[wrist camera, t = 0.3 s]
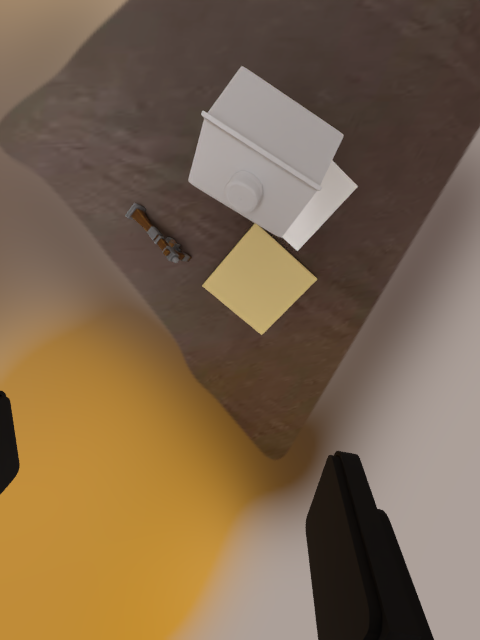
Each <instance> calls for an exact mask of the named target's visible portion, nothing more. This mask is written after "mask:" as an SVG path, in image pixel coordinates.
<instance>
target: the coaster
mask: <svg viewBox="0 0 480 640" xmlns="http://www.w3.org/2000/svg"><path fill="white" fill-rule="evenodd" d="M316 280H317V278H316V277H315V276H314V275H313V274H312V273H311V272H310V271H309V270H308V269H306V268H305V267H304V266H303V265H302V264H301V263H300V262H299V261H298V260H297V259H295V258H294V257H293V256H292V255H291V254H290V253H289V252H288V251H287V250H286V249H285V248H283V247H282V246H281V245H280V244H279V243H278V242H277V241H276V240H275V239H274V238H272V237H271V236H270V235H269V234H268V233H267V232H266V231H265V230H264V229H263V228H262V227H260V226H259V225H257V224H256V223H254V224H253V226H252V227H251V228H250V229H249V230H248V232H247V233H246V234H245V235H244V236H243V237H242V239H241V240H240V241H239V242H238V243H237V245H236V246H235V247H234V248H233V249H232V250H231V252H230V253H229V254H228V255H227V256H226V258H225V259H224V260H223V261H222V262H221V263H220V265H219V266H218V267H217V268H216V269H215V271H214V272H213V273H212V274H211V275H210V276H209V278H208V279H207V280H206V281H205V282H204V284H203V285H202V286H203V287H204V288H205V289H206V290H208V291H209V292H210V293H211V294H212V295H214V296H215V297H216V298H217V299H219V300H220V301H221V302H222V303H223V304H225V305H226V306H227V307H228V308H229V309H231V310H232V311H233V312H234V313H235V314H237V315H238V316H239V317H240V318H242V319H243V320H244V321H245V322H246V323H248V324H249V325H250V326H251V327H252V328H254V329H255V330H256V331H257V332H258V333H260V334H261V335H262V334H263V333H264V332H265V331H266V330H267V329H268V328H269V327H270V326H271V325H272V324H273V323H274V322H275V321H276V320H277V319H278V318H279V317H280V316H281V315H282V314H283V313H284V312H285V311H286V310H287V309H288V308H289V307H290V306H291V305H292V304H293V303H294V302H295V301H296V300H297V299H298V298H299V297H300V296H301V295H302V294H303V293H304V292H305V291H306V290H307V289H308V288H309V287H310V286H311V285H312V284H313V283H314V282H315V281H316Z"/></svg>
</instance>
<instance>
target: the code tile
mask: <svg viewBox="0 0 480 640" xmlns="http://www.w3.org/2000/svg"><path fill="white" fill-rule="evenodd" d="M320 186H321V187H322V189H321V190H320V191H317V192H316V193H315V194H314V196H313V197H312V198H311V200H310V201H309V202H308V204H307V205H306V206H305V207H304V209H303V210H302V211H301V213H300V214H299V215H298V217H297V218H296V219H295V221H294V222H293V223H292V224H291V226H290V227H289V228H288V230H287V231H286V232H285V234H284V235H283V236H282V237H283V238H284V239H285V240H286V241H287V242H288V243H289V244H290V245H291V246H292V247H293V248H295V249H296V250H297V251H298V250H299V249H300V248H301V247H302V246H303V245H304V244H305V243H306V242H307V241H308V239H309V238H310V237H311V236H312V235H313V234H314V233H315V232H316V231H317V230H318V229H319V228H320V227H321V226H322V224H323V223H324V222H325V221H326V220H327V219H328V218H329V217H330V216H331V215H332V214H333V213H334V212H335V211H336V209H337V208H338V207H339V206H340V205H341V204H342V203H343V202H344V201H345V200H346V199H347V198H348V197H349V196H350V194H351V193H352V192H353V191H354V190H355V189H356V188H357V187H358V186H357V185H356V184H355V183H354V182H353V181H352V180H351V179H350V178H349V177H348V176H347V175H346V174H345V173H344V172H343V171H342V170H341V169H340V168H339V167H338V166H337V165H336V164H335V163H334V162H333V160H332V162H331V164H330V166H329V168H328V170H327V172H326V174H325V176H324V178H323V180H322V183H321V185H320Z"/></svg>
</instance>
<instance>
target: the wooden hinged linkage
mask: <svg viewBox="0 0 480 640" xmlns="http://www.w3.org/2000/svg"><path fill="white" fill-rule="evenodd" d="M145 211H146V209H145V208H144V207H143V206H141V205H138V204H136V203H134V204H133V205H132V207H131V208H130V210H129V211H128V212H127V214H126V215H125V216H126V217H127V218H129V219H132V220H135V221H137V222H138V223H139V224H140V225H141V226H142V227H143V228H144V229H145V230H146V231H147V234H148V235H149V236H150V237H151V239H152V240H153V241H154V243H155V244H158V245H159V247H160V248H161V249H162V250H163V251H162V253H163V254H164V255H165V256H166V257H167V259H168V261H172V262H174V263H177V262H178V261H179V259H180V260H181V261H189V260H190V259H191V257H190V255H189V254H186V253H184V252H180V251H181V249H180V248H179V247H180V246H181V245H180V244H177V242H176V241H175V240H174V239H173V238H170V237H167V238H165V237H164V236H163V235H162V234H161V233H160V232H159V231H158V229H157V228H156V227H154V226H153V225H152V224H151V222H150V221H149V219H148V218H147V216H146V215H145V213H144V212H145ZM165 239H166V241H167V242H166V241H165Z"/></svg>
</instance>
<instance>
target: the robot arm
mask: <svg viewBox="0 0 480 640" xmlns="http://www.w3.org/2000/svg"><path fill="white" fill-rule="evenodd" d="M18 470H19V458H18V451H17V445H16V437H15V431H14V425H13V417H12V410H11V404H10V400H9V398H7V397H6V394H5V393H4V392H3V391H0V494H1V493H2V492H3V491H4V490H5V488H6V487H7V486H8V485H9V484H10V483H11V481H12V480H13V479H14V478H15V476H16V475H17V473H18ZM306 537H307V546H308V554H309V563H310V572H311V580H312V589H313V598H314V606H315V615H316V624H317V632H318V640H434V638H433V636H432V633H431V630H430V628H429V625H428V623H427V620H426V617H425V614H424V612H423V609H422V606H421V603H420V601H419V598H418V595H417V593H416V590H415V587H414V585H413V582H412V579H411V577H410V574H409V571H408V569H407V566H406V564H405V561H404V558H403V555H402V552H401V550H400V547H399V544H398V542H397V539H396V536H395V534H394V531H393V528H392V525H391V523H390V521H389V518H388V516H387V514H386V513H385V512H384V511H383V510H380V509H377V507H376V504H375V501H374V498H373V495H372V492H371V489H370V487H369V484H368V481H367V478H366V475H365V472H364V469H363V466H362V463H361V461H360V458H359V456H358V455H356V454H352V453H346V452H341V451H336V453H335V454H334V456H333V455H329V456H328V458H327V461H326V464H325V467H324V469H323V472H322V476H321V478H320V481H319V484H318V486H317V489H316V492H315V495H314V499H313V501H312V504H311V507H310V510H309V512H308V515H307V519H306Z"/></svg>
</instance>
